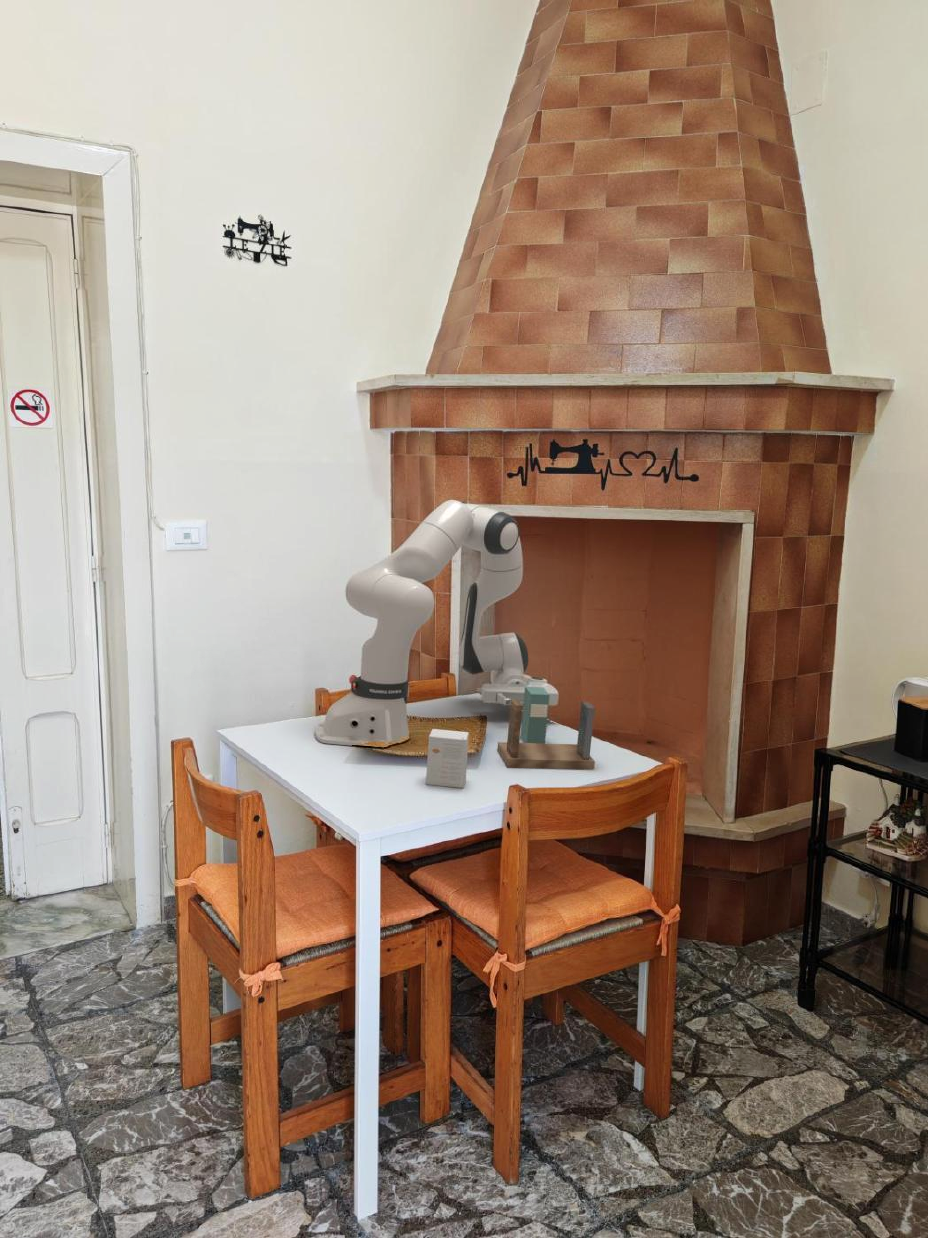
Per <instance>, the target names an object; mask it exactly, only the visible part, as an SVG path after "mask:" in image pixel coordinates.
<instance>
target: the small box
mask: <svg viewBox="0 0 928 1238" xmlns="http://www.w3.org/2000/svg"><path fill="white" fill-rule="evenodd" d="M469 734H470V733H469V732H467V731H461V730H459V731H457V730H449V729H448V730H447V729H437V728H432V729H431V732H430V733H429V735H428V744H427V759H426V774H425V775H426V776H425V784H426V785H429V786H437V787H438V786H440V787H448V788H449V787H450V788H460V789H461V788H462V789H464V786H465V784H466V783H465V782H466V779H467V768H468V767H467V766H468V765H467V764H468V753H469V752H468V751H469V737H470V736H469Z"/></svg>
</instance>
